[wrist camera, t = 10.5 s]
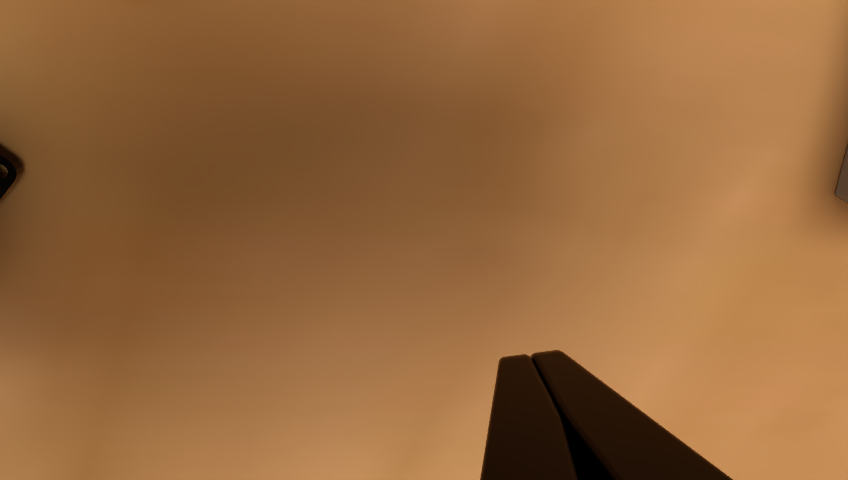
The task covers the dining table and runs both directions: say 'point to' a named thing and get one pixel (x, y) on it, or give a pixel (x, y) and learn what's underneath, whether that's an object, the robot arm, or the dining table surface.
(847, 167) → the box
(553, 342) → the dining table surface
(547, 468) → the robot arm
